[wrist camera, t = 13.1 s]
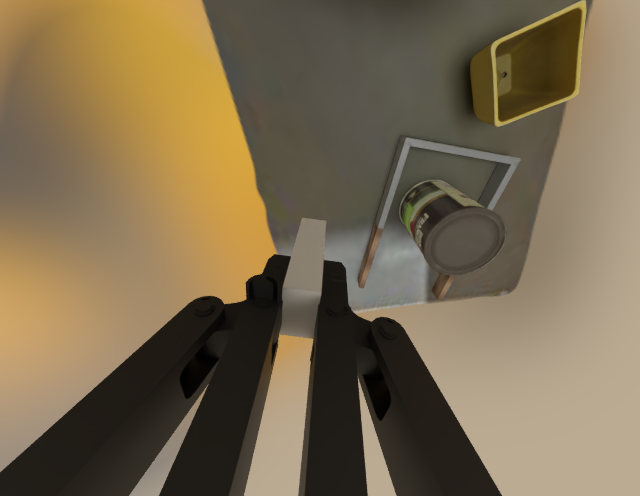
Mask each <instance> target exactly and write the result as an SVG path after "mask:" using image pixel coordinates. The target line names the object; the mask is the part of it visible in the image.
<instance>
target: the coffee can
mask: <svg viewBox="0 0 640 496" xmlns="http://www.w3.org/2000/svg"><path fill="white" fill-rule="evenodd" d="M399 215H400V219H401V221H402V223H403V224H404V225H405V227H406V228H407V230H408V231H409V233H410V234H411V236H412V238H413V239H414V241H415V242H416V244H417V246H418V247H419V249H420V250H421V252H422V254H423V255H424V258H425V260H426V261H427V263H428V264H429V266H430V267H431V268H432V269H434V270H435V271H437V272H439V273H442V274H445V275H464V274H468V273H472V272H474V271H477V270H479V269H481V268H482V267H484V266H486V265H487V264H489V263H490V262H491V261H492V260H493V259H494V258H495V257H496V256H497V255H498V254H499V252H500V251H501V249H502V247H503V246H504V243H505V241H506V236H507V229H506V225H505V222H504V221H503V219H502V218H501V217H500V216H499V215H498V214H497V213H495V212H494V211H492V210H490V209H487V208H485V207H483V206H482V205H480V204H479V203H477V202H476V201H474V200H472V199H471V198H469V197H468V196H466V195H464V194H463V193H461V192H460V191H458V190H457V189H455V188H453V187H452V186H451V185H450V184H448V183H447V182H445V181H442V180H436V179H432V180H426V181H422V182H420V183H418V184H416V185H414V186H413V187H412V188H411V189H409V190H408V191H407V193H406V194H405V195H404V197H403V198H402V201H401V203H400V207H399Z"/></svg>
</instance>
